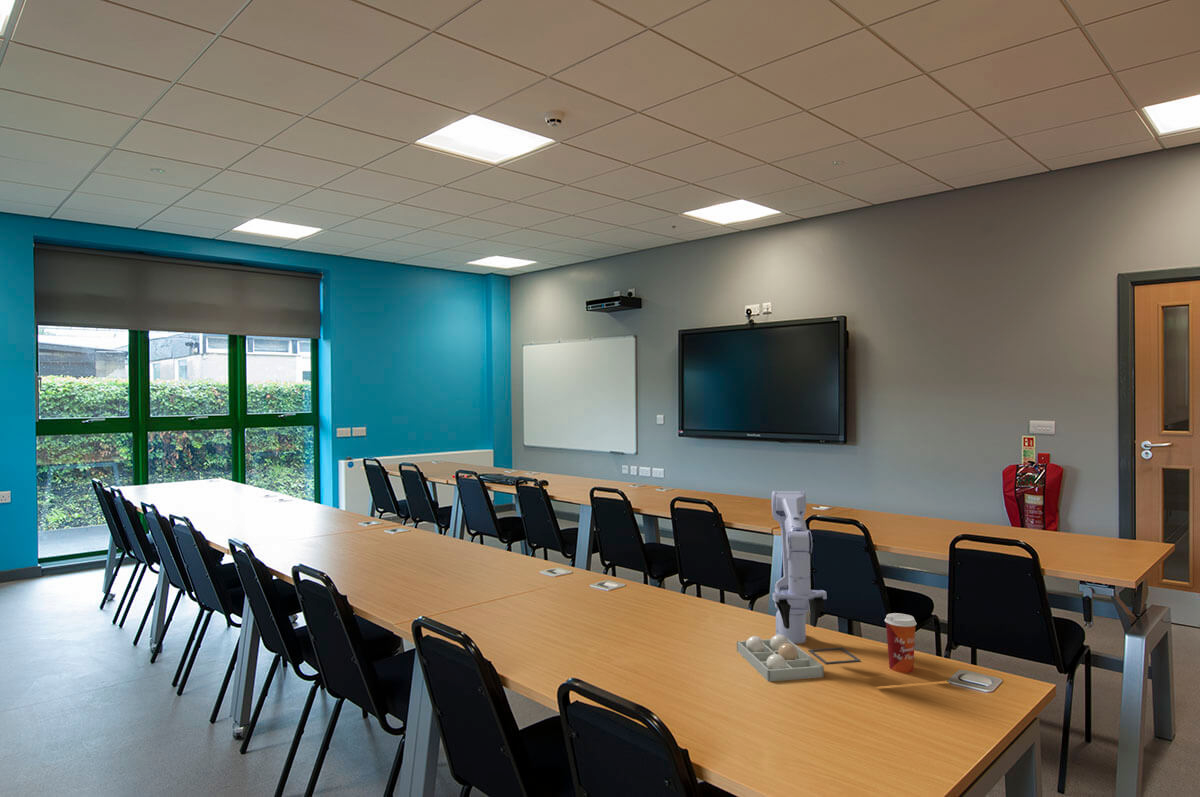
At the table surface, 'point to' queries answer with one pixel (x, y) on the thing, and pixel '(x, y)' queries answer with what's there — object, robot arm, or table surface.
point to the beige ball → (787, 651)
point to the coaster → (834, 661)
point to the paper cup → (900, 641)
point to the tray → (794, 668)
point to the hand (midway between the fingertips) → (800, 626)
